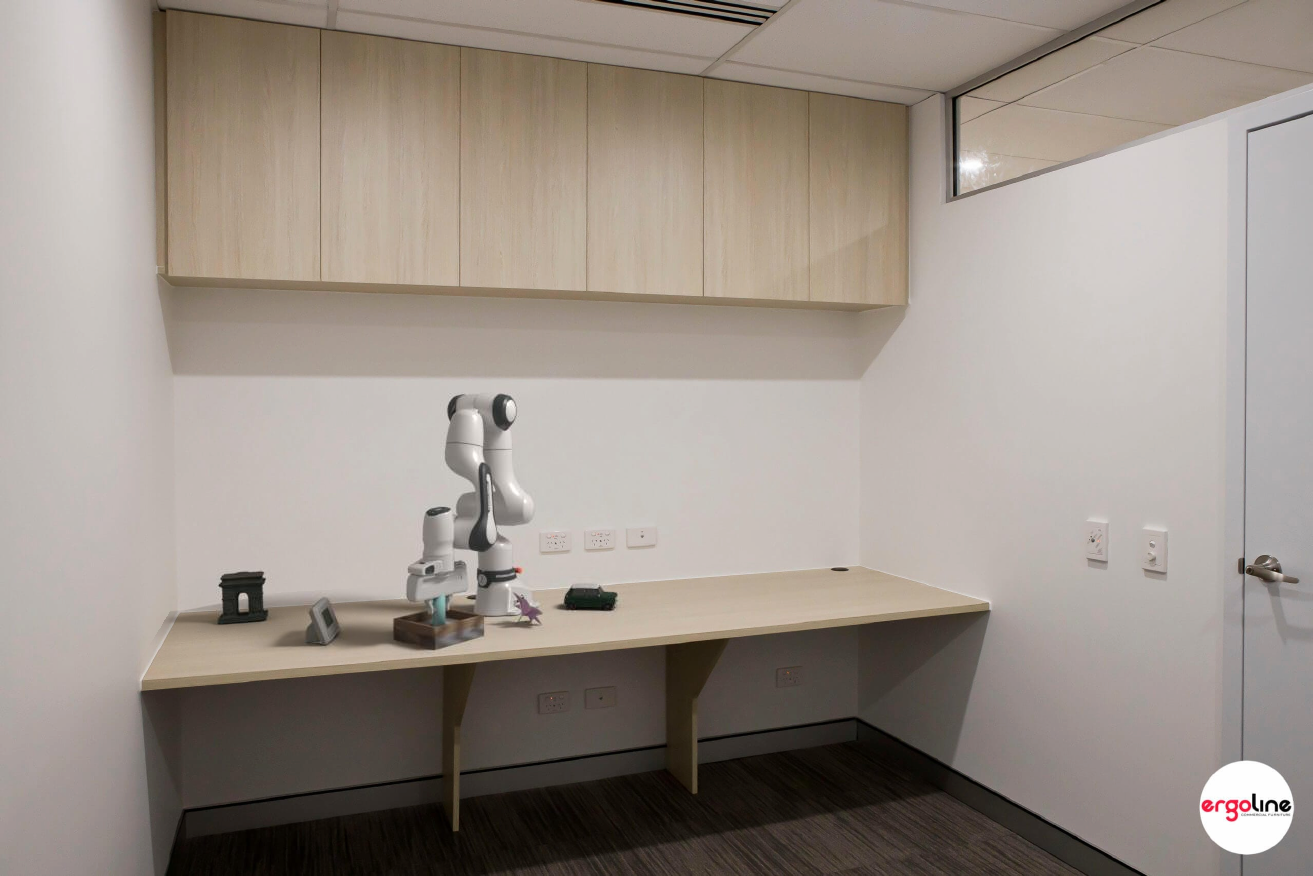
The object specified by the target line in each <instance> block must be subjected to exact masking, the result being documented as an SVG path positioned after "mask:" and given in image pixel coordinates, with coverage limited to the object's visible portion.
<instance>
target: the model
mask: <svg viewBox="0 0 1313 876" xmlns="http://www.w3.org/2000/svg"><path fill="white" fill-rule="evenodd" d="M264 575H265V572H264V571H262V570H259V571H258V570H257V571H237V572H231V573H230V572H229V573H224V574H223V575H221V577H220V579H219V580H221V582H220V583H219V584H218V587H219V588H221V602H222V614H220V616H219V617H218V618H217V624H218V625H220V624H223V625H224V624H232V623H243V622H255V621H256V622H257V621H266V620H267V619H268V616H269V610H268V609H264V590H263V589H264V588H263V586H264V584H265V583H266V581H267V578H266V577H264ZM240 594H246V596H247V602H248V603H247V604H248V606H247V607H248V608H247V609H248V611H240V609H239V608H240V605H239V604H240V603H239V599H240V598H239V597H240Z"/></svg>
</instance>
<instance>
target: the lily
mask: <svg viewBox="0 0 1313 876" xmlns="http://www.w3.org/2000/svg"><path fill="white" fill-rule="evenodd" d="M513 594H514V595H515V596H516V598H517V599H518V601H519V603H520V605H519V604H518V605H515V607H517V608H518V609H520V610H521V609H522V610H521V613H520V614H521V615H520V617H519V618H518V620H517V623H516V625H515V628H516V627H518V625H519V622H520V620H521V619H522V617H528V620H529V621H530V622H533V620H535V621H536V622H537V623H538V624H539V625H541V626H542V623H541V620H540V619H539V618H538V616H540V615H541V616H542V615H543V614H544V613H543V612H542V610H540V609H539V608H538V607H536V608H535V607H533V606H530V605H529V603H528V601H527V600H526V599H524V600H523V599H522V598H521V597H520V596H518V595H517V594H515V593H514V592H513ZM520 606H521V607H520Z"/></svg>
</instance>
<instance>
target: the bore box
mask: <svg viewBox="0 0 1313 876" xmlns="http://www.w3.org/2000/svg"><path fill="white" fill-rule="evenodd" d="M392 621H393V623H392V624H393V625H392V627H393V630H392V631H393V633H392V634H393V636H392V637H393V640H394V641H398V642H402V643H406V642H407V644H410V643H411V645H414V644H415V646H418V645H419V646H418V647H423V648H427V649H431V650H434V651H436V650H440V649H443V648H446V647H447V648H448V647H450V646H455V645H457V644H461V643H464V642H467V641H471V640H474V639H478V638H481V637H480V636H482V637H484V636H485V615H480V614H476V613H474V612H470V611H465V610H461V609H455V608H450V607H449V610H448V611H445V625H441V626H437V627H434V626H432V614H428V609H427V610H423V611H419V612H414V613H411V614H407V615H403V616H399V617H394V618H392ZM483 635H484V636H483Z"/></svg>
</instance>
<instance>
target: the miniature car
mask: <svg viewBox="0 0 1313 876" xmlns="http://www.w3.org/2000/svg"><path fill="white" fill-rule="evenodd" d="M618 596H619V595H618V592H615V591H604V589H603V588H602V587H601V585H600V584H599V583H593V582H580V583H578V582H577V583H573V584H572V585H570V588H569V589H568V591H566V593H565V595H564V598H563V606H566V608H567V610H568V611H575V610H576V607H579V608H583V607H585V608H586V607H587V608H603V610H604V612H611V611H612V610H613V607H617V606H618V604H619V599H618Z"/></svg>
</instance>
